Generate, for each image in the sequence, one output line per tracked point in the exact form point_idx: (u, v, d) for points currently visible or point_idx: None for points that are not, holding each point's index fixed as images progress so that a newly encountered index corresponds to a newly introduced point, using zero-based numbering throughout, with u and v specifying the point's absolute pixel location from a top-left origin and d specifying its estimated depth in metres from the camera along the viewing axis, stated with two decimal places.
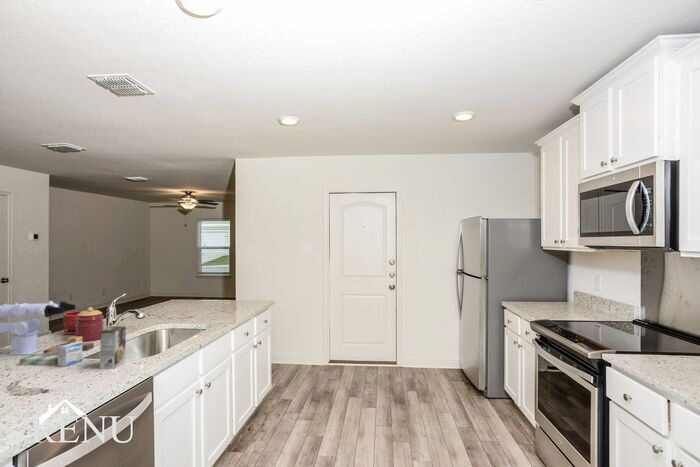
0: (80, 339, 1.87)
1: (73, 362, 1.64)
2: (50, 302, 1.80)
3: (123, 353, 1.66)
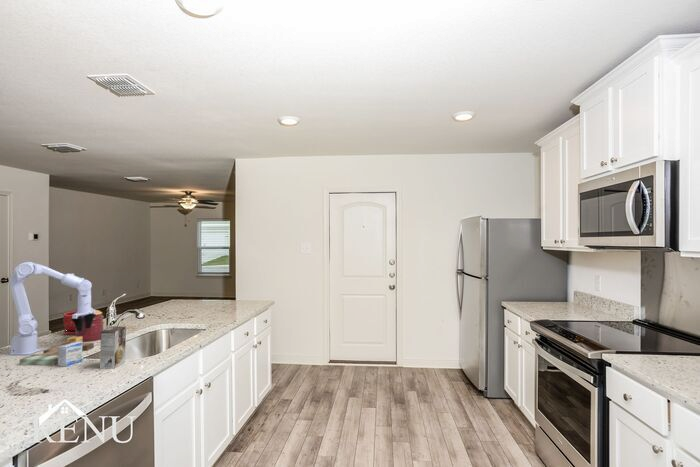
0: (80, 339, 1.87)
1: (73, 362, 1.64)
2: None
3: (123, 353, 1.66)
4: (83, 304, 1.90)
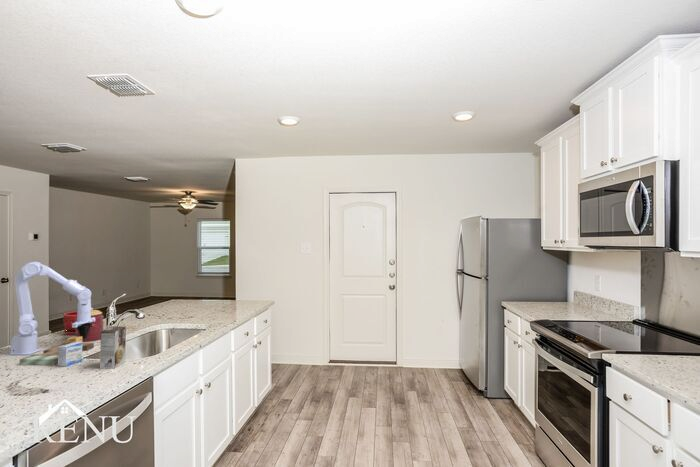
0: (80, 339, 1.87)
1: (73, 362, 1.64)
2: None
3: (123, 353, 1.66)
4: (83, 313, 1.90)
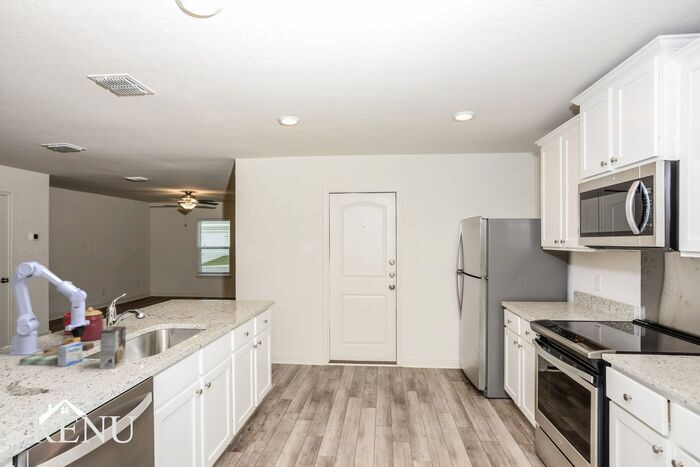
0: (78, 340, 1.85)
1: (73, 362, 1.64)
2: None
3: (123, 353, 1.66)
4: (77, 315, 1.85)
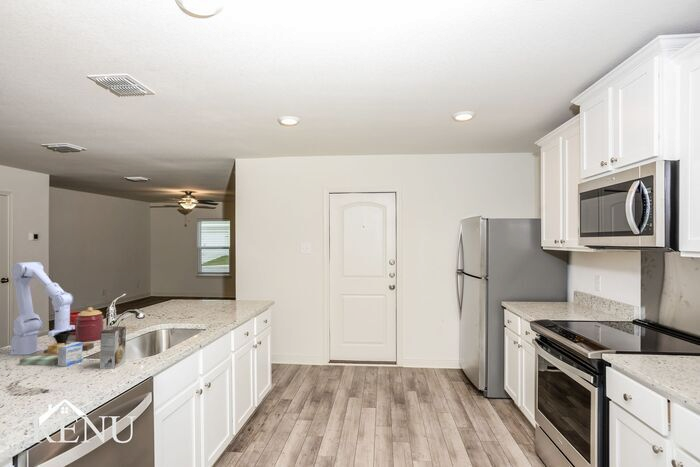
0: None
1: (73, 362, 1.64)
2: (68, 330, 1.77)
3: (123, 353, 1.66)
4: (60, 320, 1.75)
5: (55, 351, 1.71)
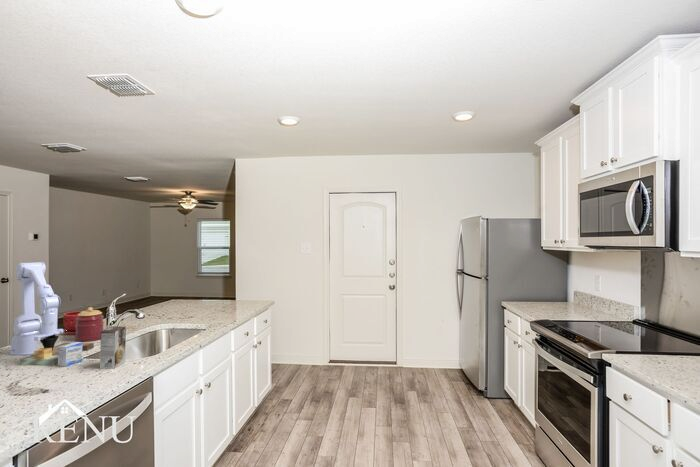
0: (49, 351, 1.67)
1: (73, 362, 1.64)
2: (55, 334, 1.69)
3: (123, 353, 1.66)
4: (47, 324, 1.67)
5: (41, 356, 1.63)
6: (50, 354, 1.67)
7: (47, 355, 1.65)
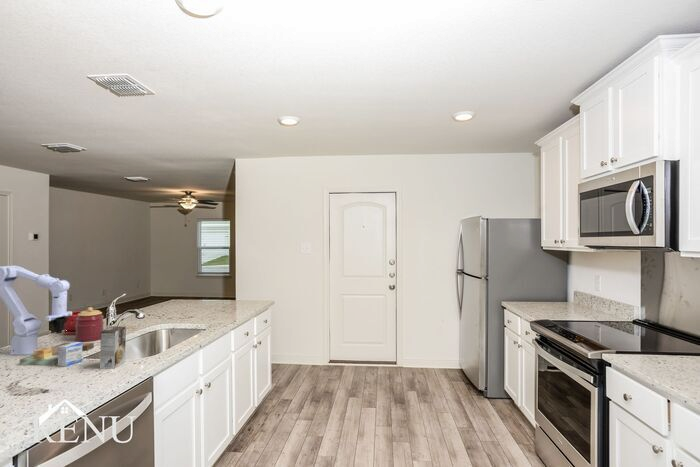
0: (49, 351, 1.66)
1: (73, 362, 1.64)
2: (65, 315, 1.81)
3: (123, 353, 1.66)
4: (57, 306, 1.79)
5: (41, 356, 1.63)
6: (50, 354, 1.67)
7: (47, 355, 1.65)
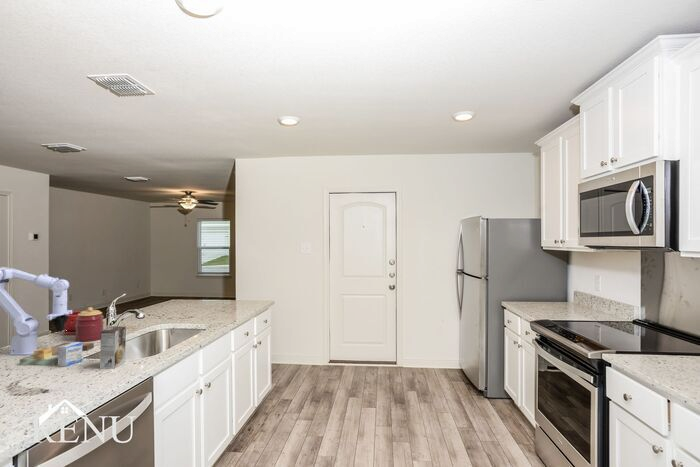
0: (49, 351, 1.66)
1: (73, 362, 1.64)
2: (65, 314, 1.84)
3: (123, 353, 1.66)
4: (58, 305, 1.82)
5: (41, 356, 1.63)
6: (50, 354, 1.67)
7: (47, 355, 1.65)
